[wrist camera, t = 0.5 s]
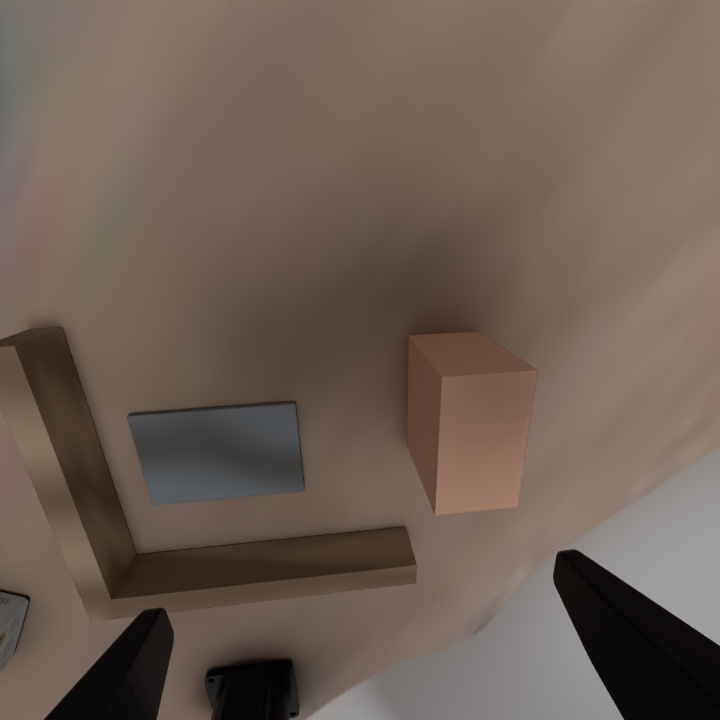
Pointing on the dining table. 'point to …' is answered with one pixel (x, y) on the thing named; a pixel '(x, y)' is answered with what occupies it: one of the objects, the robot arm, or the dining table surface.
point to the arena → (174, 495)
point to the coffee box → (10, 624)
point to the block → (468, 420)
